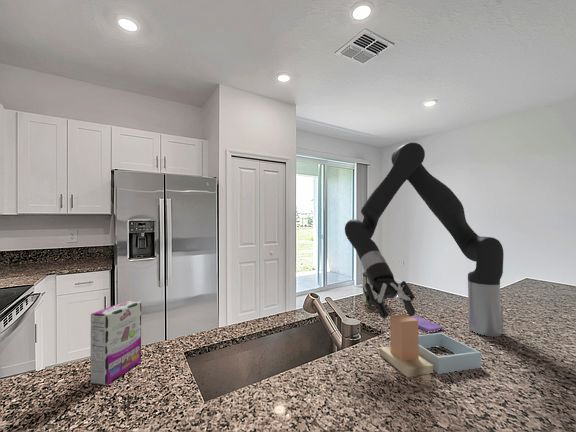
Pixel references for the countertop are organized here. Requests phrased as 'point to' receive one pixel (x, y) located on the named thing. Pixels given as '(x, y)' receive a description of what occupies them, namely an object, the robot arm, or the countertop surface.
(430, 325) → the sponges
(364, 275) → the coffee can
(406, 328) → the terracotta box
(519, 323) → the countertop surface
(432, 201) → the robot arm
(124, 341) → the candy bar box
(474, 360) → the square frame
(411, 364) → the block
